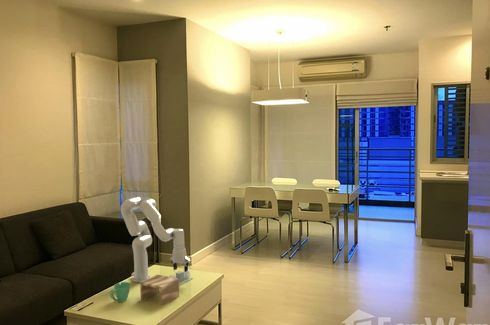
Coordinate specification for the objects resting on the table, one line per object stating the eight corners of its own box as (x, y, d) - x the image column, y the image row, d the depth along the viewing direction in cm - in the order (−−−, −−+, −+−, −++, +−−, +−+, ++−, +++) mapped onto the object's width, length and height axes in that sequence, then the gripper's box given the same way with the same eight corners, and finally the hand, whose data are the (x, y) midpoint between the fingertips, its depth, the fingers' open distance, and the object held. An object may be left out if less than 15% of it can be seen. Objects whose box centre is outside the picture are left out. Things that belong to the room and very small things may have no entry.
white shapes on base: (166, 286, 281) (166, 276, 280) (185, 277, 298) (184, 267, 297) (174, 288, 277) (174, 277, 277) (192, 279, 294) (192, 269, 294)
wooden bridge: (140, 299, 257) (140, 282, 257) (157, 291, 271) (157, 274, 271) (162, 305, 249) (162, 286, 248) (179, 296, 263) (178, 278, 262)
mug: (121, 296, 264) (121, 281, 263) (133, 298, 260) (133, 283, 259) (105, 304, 251) (104, 289, 250) (117, 307, 247) (117, 291, 246)
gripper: (166, 246, 287) (167, 270, 288) (185, 249, 278) (187, 273, 279) (173, 244, 293) (174, 267, 294) (192, 246, 285) (193, 270, 286)
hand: (180, 270), depth 287 cm, fingers open, 9 cm apart
